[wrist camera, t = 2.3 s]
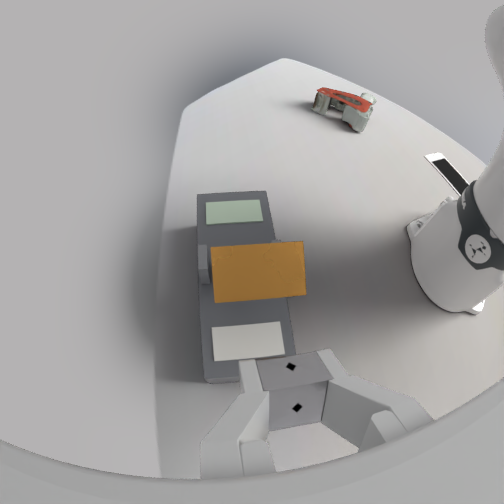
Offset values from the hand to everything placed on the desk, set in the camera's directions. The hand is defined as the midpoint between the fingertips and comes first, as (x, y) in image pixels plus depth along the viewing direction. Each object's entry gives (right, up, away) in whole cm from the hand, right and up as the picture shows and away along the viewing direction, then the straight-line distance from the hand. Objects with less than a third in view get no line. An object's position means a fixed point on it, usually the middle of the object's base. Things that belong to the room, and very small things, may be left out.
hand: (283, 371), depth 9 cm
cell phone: (+44, +20, +40) cm, 62 cm away
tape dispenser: (+22, +35, +48) cm, 63 cm away
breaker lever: (-2, +3, +17) cm, 18 cm away
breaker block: (-3, -1, +24) cm, 24 cm away
